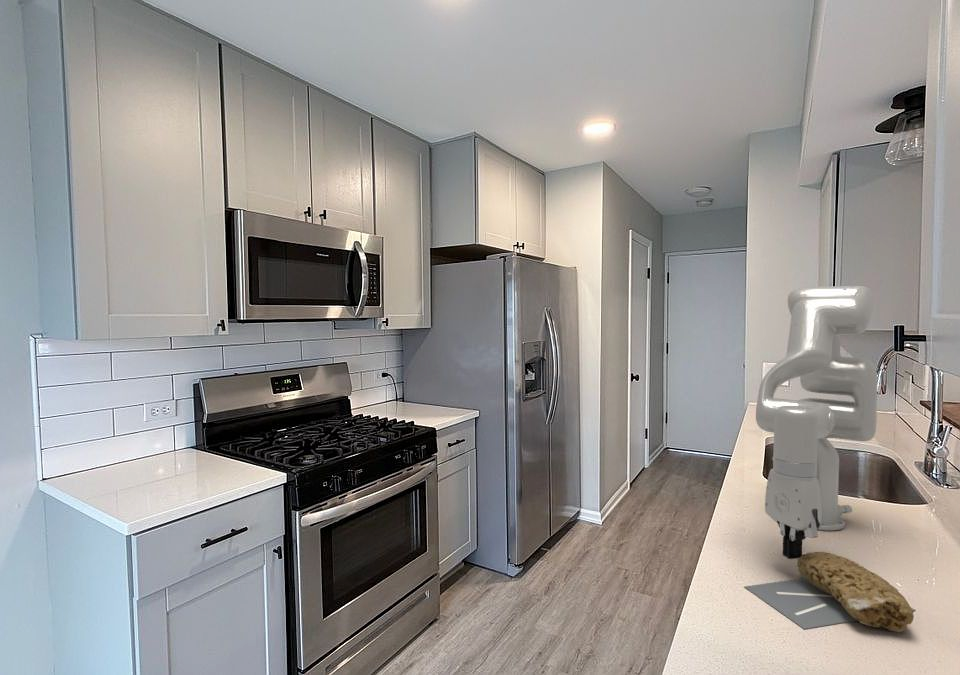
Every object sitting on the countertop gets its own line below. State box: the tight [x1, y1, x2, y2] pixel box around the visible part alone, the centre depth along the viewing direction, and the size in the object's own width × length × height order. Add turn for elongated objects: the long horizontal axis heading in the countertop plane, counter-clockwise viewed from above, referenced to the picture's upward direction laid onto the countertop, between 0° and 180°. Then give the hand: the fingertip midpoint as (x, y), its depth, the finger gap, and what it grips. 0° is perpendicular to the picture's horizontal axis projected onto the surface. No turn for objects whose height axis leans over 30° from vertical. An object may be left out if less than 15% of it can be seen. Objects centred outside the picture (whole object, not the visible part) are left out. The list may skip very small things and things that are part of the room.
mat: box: [744, 577, 916, 630], centre depth 97 cm, size 24×14×1 cm, turn 103°
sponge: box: [796, 551, 915, 633], centre depth 96 cm, size 13×8×20 cm
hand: (792, 556), depth 106 cm, fingers closed
